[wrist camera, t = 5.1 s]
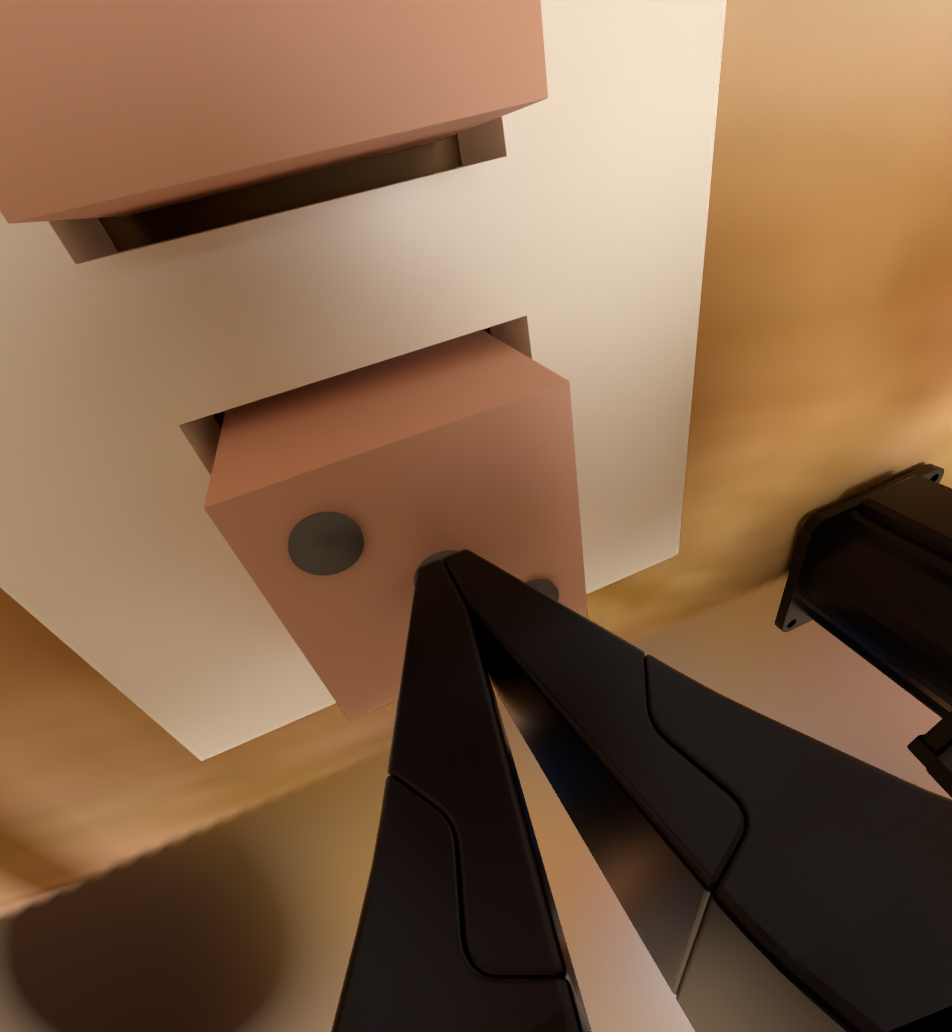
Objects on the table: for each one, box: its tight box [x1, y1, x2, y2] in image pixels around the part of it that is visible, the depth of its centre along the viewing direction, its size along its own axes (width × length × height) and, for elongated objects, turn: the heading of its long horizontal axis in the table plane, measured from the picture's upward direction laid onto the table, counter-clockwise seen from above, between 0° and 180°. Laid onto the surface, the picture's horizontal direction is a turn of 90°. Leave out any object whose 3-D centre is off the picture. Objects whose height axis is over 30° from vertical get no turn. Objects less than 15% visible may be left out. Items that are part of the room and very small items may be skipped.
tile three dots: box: [204, 330, 588, 722], centre depth 9 cm, size 5×5×4 cm
